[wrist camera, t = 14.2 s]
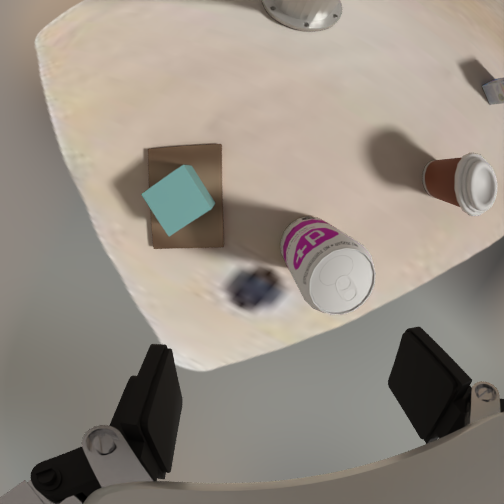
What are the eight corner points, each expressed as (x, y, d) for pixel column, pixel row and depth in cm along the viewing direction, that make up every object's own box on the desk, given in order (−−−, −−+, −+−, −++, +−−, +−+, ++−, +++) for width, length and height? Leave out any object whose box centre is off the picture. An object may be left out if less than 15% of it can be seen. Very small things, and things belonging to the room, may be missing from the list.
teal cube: (191, 165, 35) (183, 164, 30) (215, 203, 37) (211, 209, 31) (155, 190, 36) (141, 194, 30) (178, 226, 38) (168, 236, 32)
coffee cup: (419, 145, 37) (469, 143, 25) (456, 161, 38) (503, 165, 26) (412, 199, 39) (460, 211, 28) (448, 210, 40) (495, 224, 28)
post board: (150, 149, 35) (137, 146, 30) (221, 144, 36) (219, 140, 30) (155, 246, 39) (144, 258, 34) (223, 245, 40) (221, 256, 34)
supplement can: (268, 236, 40) (286, 274, 25) (316, 204, 39) (360, 224, 24) (297, 280, 42) (326, 334, 27) (343, 250, 41) (391, 289, 26)
